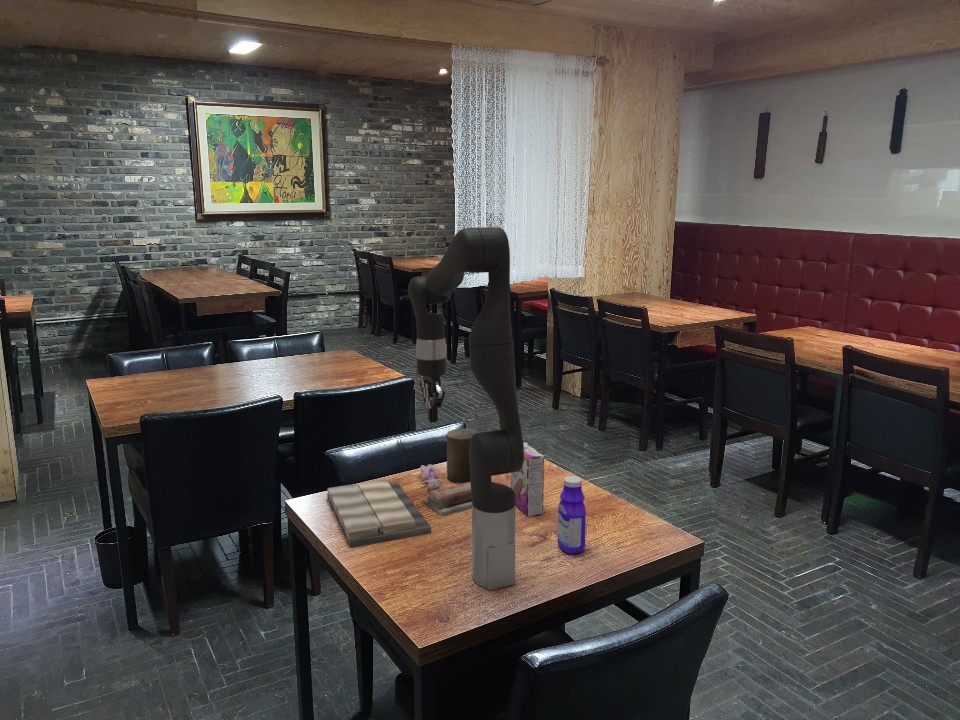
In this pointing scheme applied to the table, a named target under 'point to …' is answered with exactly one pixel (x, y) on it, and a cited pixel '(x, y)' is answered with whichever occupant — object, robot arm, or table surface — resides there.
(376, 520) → the floor section
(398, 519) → the loose plank
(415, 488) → the table surface
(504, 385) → the robot arm
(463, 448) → the pillar candle
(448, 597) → the table surface
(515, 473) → the candy bar box
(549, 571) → the table surface
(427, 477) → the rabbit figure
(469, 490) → the packaged product
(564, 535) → the bottle
